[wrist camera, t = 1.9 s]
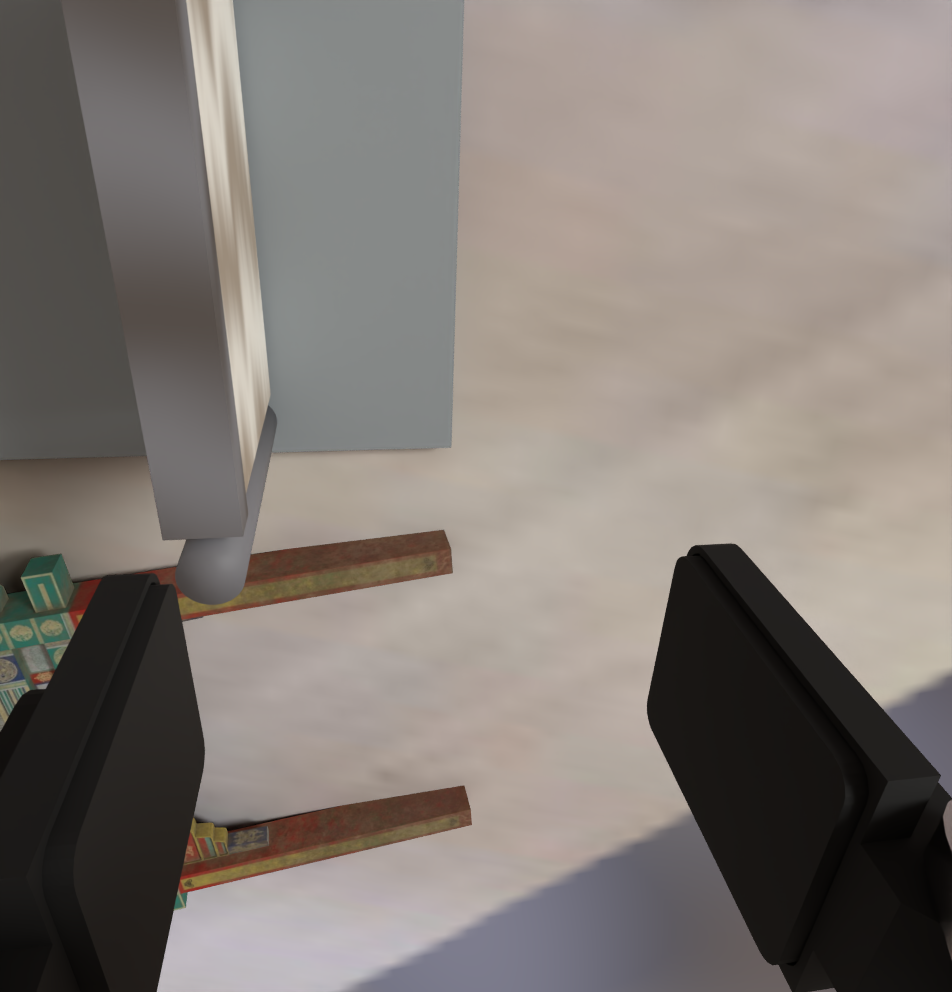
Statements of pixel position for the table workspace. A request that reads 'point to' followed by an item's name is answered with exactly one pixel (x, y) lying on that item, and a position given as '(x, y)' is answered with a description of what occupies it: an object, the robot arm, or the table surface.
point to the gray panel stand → (279, 240)
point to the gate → (179, 243)
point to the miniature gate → (270, 579)
